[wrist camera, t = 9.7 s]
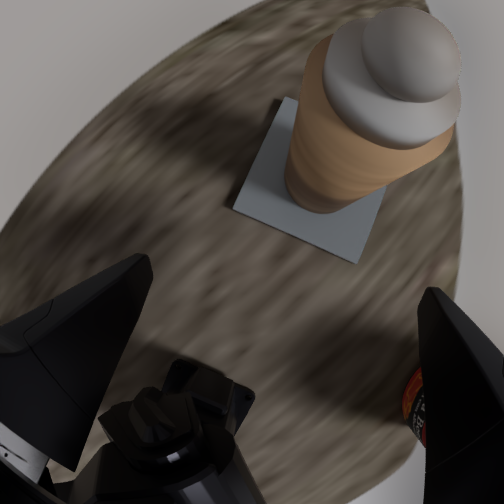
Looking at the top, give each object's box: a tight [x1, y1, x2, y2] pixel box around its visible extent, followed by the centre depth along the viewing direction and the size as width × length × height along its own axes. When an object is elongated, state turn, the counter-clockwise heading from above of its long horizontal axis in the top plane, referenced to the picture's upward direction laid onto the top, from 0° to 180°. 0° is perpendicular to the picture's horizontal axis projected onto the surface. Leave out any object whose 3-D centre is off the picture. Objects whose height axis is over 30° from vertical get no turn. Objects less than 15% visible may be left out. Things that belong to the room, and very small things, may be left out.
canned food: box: [402, 367, 426, 448], centre depth 14 cm, size 8×8×11 cm
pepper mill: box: [284, 7, 461, 214], centre depth 12 cm, size 5×5×15 cm
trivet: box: [233, 97, 387, 264], centre depth 20 cm, size 9×9×1 cm
